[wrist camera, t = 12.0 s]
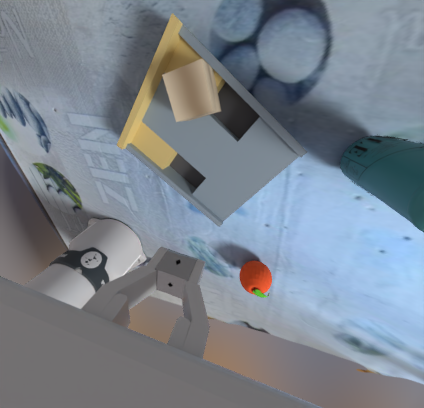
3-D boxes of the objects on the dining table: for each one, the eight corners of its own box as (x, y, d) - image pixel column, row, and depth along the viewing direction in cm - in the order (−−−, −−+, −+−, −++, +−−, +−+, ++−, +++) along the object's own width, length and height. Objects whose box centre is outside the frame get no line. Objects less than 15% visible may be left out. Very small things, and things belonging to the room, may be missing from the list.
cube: (190, 120, 26) (176, 121, 21) (179, 81, 24) (162, 74, 19) (221, 111, 24) (213, 111, 20) (213, 69, 22) (202, 58, 18)
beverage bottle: (357, 184, 27) (525, 308, 10) (323, 162, 27) (438, 250, 10) (400, 148, 24) (768, 243, 7) (362, 122, 23) (646, 150, 6)
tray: (301, 146, 26) (309, 153, 22) (222, 216, 36) (217, 229, 32) (188, 31, 23) (172, 13, 19) (135, 141, 33) (116, 145, 28)
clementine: (280, 270, 39) (284, 299, 33) (257, 281, 43) (257, 309, 37) (256, 249, 38) (256, 275, 32) (235, 262, 41) (230, 287, 35)
